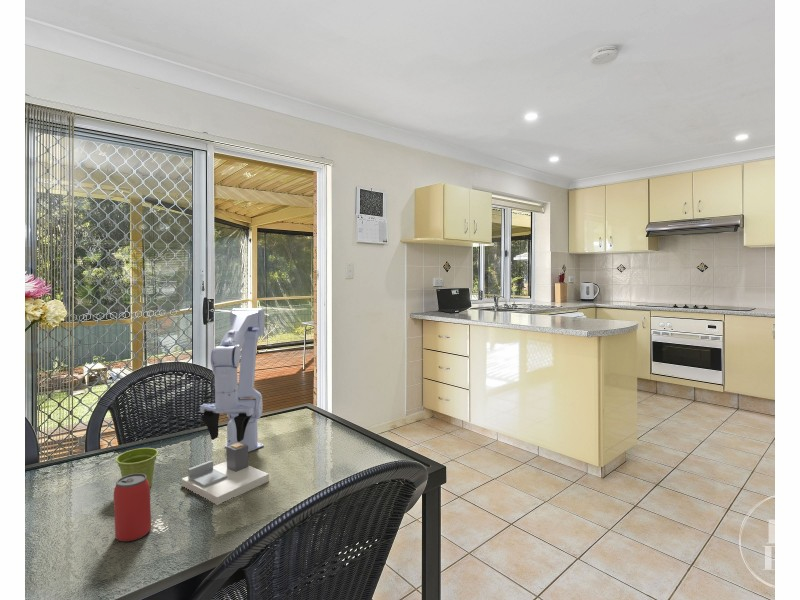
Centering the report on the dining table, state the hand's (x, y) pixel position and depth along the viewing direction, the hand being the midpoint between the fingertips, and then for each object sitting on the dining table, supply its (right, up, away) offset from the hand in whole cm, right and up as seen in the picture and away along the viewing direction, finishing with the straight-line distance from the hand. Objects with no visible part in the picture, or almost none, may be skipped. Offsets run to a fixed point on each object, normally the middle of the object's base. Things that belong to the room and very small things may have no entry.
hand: (227, 439), depth 121 cm
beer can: (-10, -12, -26) cm, 31 cm away
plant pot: (-20, -11, -7) cm, 24 cm away
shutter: (-3, -8, -6) cm, 10 cm away
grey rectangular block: (+3, -8, +1) cm, 8 cm away
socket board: (+1, -10, -4) cm, 11 cm away
